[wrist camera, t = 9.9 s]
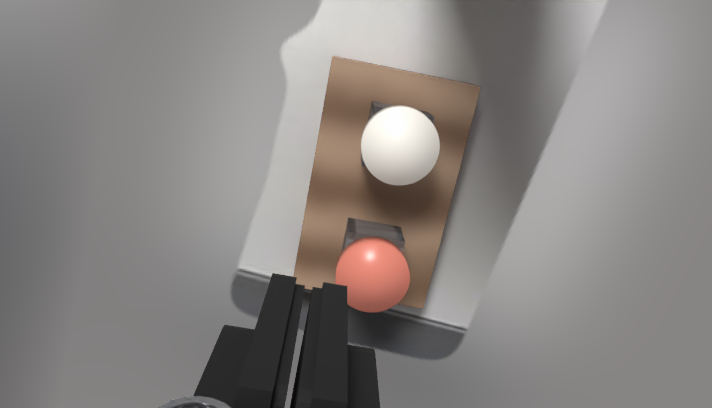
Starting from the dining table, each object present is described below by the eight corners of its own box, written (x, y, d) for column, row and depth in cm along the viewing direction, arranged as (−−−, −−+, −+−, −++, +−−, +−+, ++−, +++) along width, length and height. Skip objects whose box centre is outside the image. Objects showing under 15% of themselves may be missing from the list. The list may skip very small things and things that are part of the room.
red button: (343, 215, 43) (343, 238, 38) (409, 227, 44) (417, 251, 39) (331, 276, 45) (329, 305, 40) (394, 287, 45) (401, 317, 40)
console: (333, 55, 44) (331, 58, 37) (472, 84, 44) (492, 91, 38) (294, 272, 49) (287, 305, 43) (418, 293, 50) (428, 328, 44)
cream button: (367, 93, 41) (370, 100, 36) (436, 107, 42) (448, 116, 37) (353, 161, 43) (354, 177, 38) (420, 174, 43) (429, 191, 38)
